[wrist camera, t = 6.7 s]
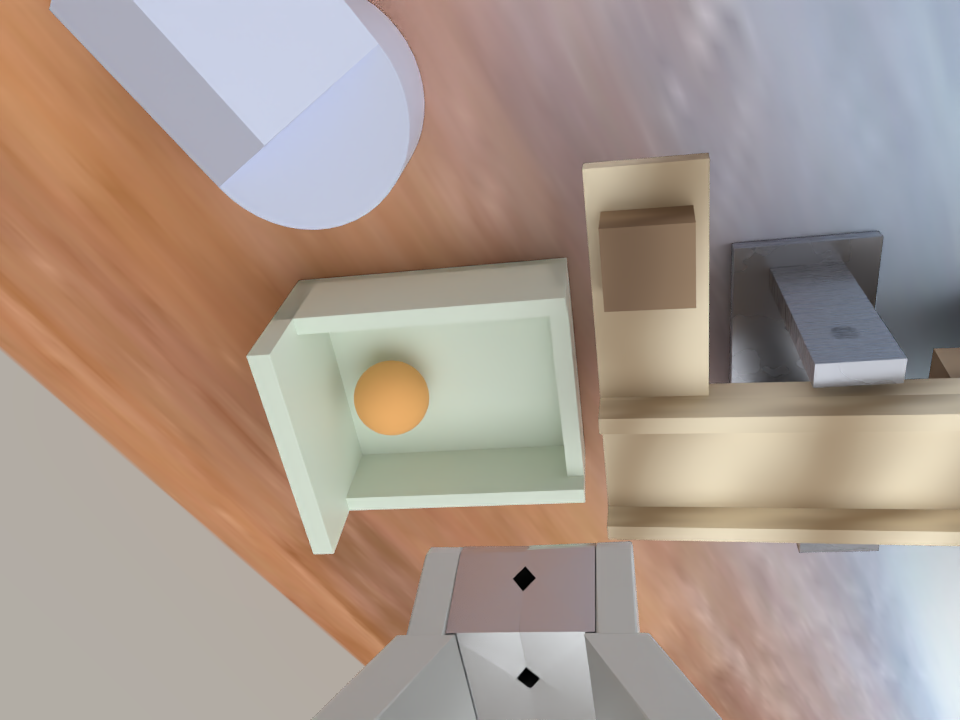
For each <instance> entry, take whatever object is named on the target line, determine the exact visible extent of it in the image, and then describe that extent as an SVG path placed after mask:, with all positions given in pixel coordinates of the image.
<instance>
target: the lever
mask: <svg viewBox="0 0 960 720" xmlns="http://www.w3.org/2000/svg"><path fill="white" fill-rule="evenodd" d="M709 169H710V158H709V154H708V153H700V154H688V155H676V156H665V157H653V158H641V159H629V160H617V161H606V162H594V163H583V167H582V174H583V187H584V200H585V212H586V225H587V237H588V250H589V263H590V275H591V288H592V301H593V313H594V326H595V339H596V351H597V364H598V376H599V389H600V406H599V417H598V421H599V433H600V434H603V446H604V458H605V471H606V483H607V496H608V520H607V531H608V539H620V540H671V541H722V542H773V543H825V544H876V545H927V546H960V348H934V349H933V355H932V361H931V367H930V373H929V379H904V383H897V384H879V385H861V386H842V387H824V388H813V387H812V385H811V382H810V381H807V382H763V383H719V384H709Z"/></svg>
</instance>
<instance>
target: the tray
mask: <svg viewBox="0 0 960 720" xmlns="http://www.w3.org/2000/svg"><path fill="white" fill-rule="evenodd" d="M247 359H248V362H249V365H250V368H251V371H252V374H253V377H254V380H255V383H256V386H257V389H258V392H259V395H260V398H261V401H262V404H263V407H264V410H265V412H266V415H267V418H268V421H269V424H270V427H271V430H272V433H273V436H274V439H275V442H276V445H277V448H278V451H279V454H280V457H281V460H282V463H283V466H284V468H285V471H286V474H287V477H288V480H289V483H290V486H291V489H292V492H293V495H294V498H295V501H296V504H297V507H298V510H299V513H300V516H301V519H302V522H303V525H304V527H305V530H306V533H307V536H308V539H309V542H310V545H311V548H312V551H313V554H334V552H335V549H336V546H337V543H338V541H339V538H340V535H341V532H342V530H343V527H344V524H345V521H346V519H347V516H348V513H349V511H350V510H378V509H407V508H437V507H466V506H496V505H525V504H554V503H584V502H585V444H584V434H583V423H582V413H581V402H580V392H579V381H578V370H577V360H576V349H575V339H574V328H573V317H572V307H571V296H570V286H569V275H568V265H567V258H556V259H544V260H532V261H521V262H509V263H497V264H485V265H474V266H462V267H450V268H439V269H427V270H415V271H404V272H392V273H380V274H368V275H357V276H345V277H333V278H322V279H310V280H299V281H298V282H297V284H296V285H295V287H294V288H293V290H292V291H291V292H290V294H289V295H288V297H287V298H286V300H285V301H284V302H283V304H282V305H281V307H280V308H279V310H278V311H277V313H276V314H275V315H274V317H273V318H272V320H271V321H270V323H269V324H268V326H267V327H266V328H265V330H264V331H263V333H262V334H261V336H260V337H259V339H258V340H257V341H256V343H255V344H254V346H253V347H252V349H251V350H250V351H249V353H248V354H247ZM390 360H393V361H400V362H404V363H406V364H409V365H411V366H412V367H414V368H415V369H416V370H417V371H418V372H419V373H420V374H421V375H422V376H423V378H424V380H425V382H426V384H427V387H428V390H429V405H428V409H427V412H426V414H425V416H424V418H423V419H422V420H421V422H420V423H419V424H418V425H417V426H416V427H415V428H413V429H412V430H410V431H408V432H406V433H403V434H400V435H383V434H379V433H377V432H375V431H373V430H371V429H370V428H368V427H367V426H366V425H365V424H364V423H363V422H362V421H361V419H360V418H359V416H358V414H357V412H356V409H355V405H354V391H355V387H356V384H357V382H358V380H359V378H360V377H361V375H362V374H363V373H364V372H365V371H366V370H367V369H368V368H370V367H371V366H373V365H375V364H377V363H380V362H383V361H390Z"/></svg>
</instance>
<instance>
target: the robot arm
mask: <svg viewBox="0 0 960 720" xmlns="http://www.w3.org/2000/svg"><path fill="white" fill-rule="evenodd" d="M536 719H537V720H722V719H721V717H720V716H719V715H718V714H717V713H716V711H715V710H714V709H713V708H712V707H711V706H710V704H709V703H708V702H707V701H706V700H705V699H704V697H703V696H702V695H701V694H700V693H699V692H698V690H697V689H696V688H695V687H694V686H693V684H692V683H691V682H690V681H689V680H688V679H687V677H686V676H685V675H684V674H683V673H682V672H681V670H680V669H679V668H678V667H677V666H676V665H675V663H674V662H673V661H672V660H671V659H670V657H669V656H668V655H667V654H666V653H665V652H664V650H663V649H662V648H661V647H660V646H659V645H658V643H657V642H656V641H655V640H654V639H653V638H652V636H651V635H650V634H649V633H640V628H639V616H638V604H637V591H636V579H635V567H634V555H633V545H632V542H630V541H628V542H605V543H597V545H596V543H584V544H559V545H534V546H473V547H431V548H430V550H429V551H428V553H427V554H426V557H425V561H424V565H423V569H422V573H421V577H420V581H419V585H418V590H417V594H416V598H415V602H414V606H413V610H412V614H411V618H410V623H409V627H408V631H407V635H397V636H396V637H395V638H394V639H393V640H392V641H391V642H390V643H389V644H388V645H387V646H386V647H384V648H383V649H382V650H381V651H380V652H379V653H378V654H377V655H376V656H375V657H374V658H373V659H372V660H371V661H370V662H369V663H368V664H367V665H366V666H365V667H364V668H363V669H362V670H361V671H360V672H359V673H358V674H357V675H356V676H355V677H354V678H353V679H352V680H351V681H350V682H349V683H348V684H347V685H346V686H345V687H344V688H343V689H342V690H341V691H340V692H339V693H338V694H336V695H335V697H333V698H332V699H331V700H330V701H329V702H328V703H327V704H326V705H325V706H324V707H323V708H322V709H321V710H320V711H319V712H318V713H317V714H316V715H315V716H314V717H313V718H312V719H311V720H536Z"/></svg>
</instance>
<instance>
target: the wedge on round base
mask: <svg viewBox="0 0 960 720" xmlns="http://www.w3.org/2000/svg"><path fill="white" fill-rule="evenodd" d="M49 10H50V11H51V12H52V13H53V14H54V15H55V16H56V17H57V18H58V19H59V20H60V21H61V22H62V24H63V25H64V26H65V27H66V28H67V29H68V30H69V31H70V32H71V33H72V34H73V35H74V36H75V37H76V38H77V39H78V40H79V41H80V42H81V43H82V45H83V46H84V47H85V48H86V49H87V50H88V51H89V52H90V53H91V54H92V55H93V56H94V57H95V58H96V59H97V60H98V61H99V62H100V63H101V64H102V65H103V67H104V68H105V69H106V70H107V71H108V72H109V73H110V74H111V75H112V76H113V77H114V78H115V79H116V80H117V81H118V82H119V83H120V84H121V85H122V86H123V87H124V89H125V90H126V91H127V92H128V93H129V94H130V95H131V96H132V97H133V98H134V99H135V100H136V101H137V102H138V103H139V104H140V105H141V106H142V107H143V108H144V109H145V111H146V112H147V113H148V114H149V115H150V116H151V117H152V118H153V119H154V120H155V121H156V122H157V123H158V124H159V125H160V126H161V127H162V128H163V129H164V130H165V131H166V133H167V134H168V135H169V136H170V137H171V138H172V139H173V140H174V141H175V142H176V143H177V144H178V145H179V146H180V147H181V148H182V149H183V150H184V151H185V152H186V154H187V155H188V156H189V157H190V158H191V159H192V160H193V161H194V162H195V163H196V164H197V165H198V166H199V167H200V168H201V169H202V170H203V171H204V172H205V173H206V174H207V176H208V177H209V178H210V179H211V180H212V181H213V182H214V183H215V184H216V185H217V186H218V187H219V188H220V189H221V190H222V191H223V192H224V193H225V194H226V195H227V196H229V197H230V198H231V199H232V200H233V201H235V202H236V203H237V204H239V205H240V206H241V207H243V208H244V209H246V210H248V211H249V212H251V213H253V214H254V215H256V216H258V217H260V218H263V219H265V220H267V221H269V222H272V223H275V224H279V225H282V226H285V227H291V228H296V229H308V230H318V229H329V228H333V227H337V226H342V225H345V224H347V223H350V222H352V221H355V220H357V219H358V218H360V217H362V216H364V215H366V214H367V213H369V212H370V211H371V210H372V209H374V208H375V207H376V206H377V205H379V203H380V202H381V201H382V200H383V199H384V198H385V197H386V196H387V195H388V194H389V192H390V191H391V189H392V188H393V186H394V185H395V183H396V182H397V180H398V178H399V177H400V175H401V173H402V172H403V170H404V168H405V167H406V165H407V163H408V162H409V160H410V158H411V157H412V155H413V153H414V151H415V148H416V146H417V144H418V141H419V138H420V135H421V132H422V126H423V120H424V106H425V101H424V90H423V84H422V80H421V75H420V71H419V68H418V66H417V63H416V60H415V57H414V55H413V53H412V51H411V49H410V47H409V46H408V44H407V42H406V40H405V39H404V37H403V36H402V34H401V33H400V31H399V30H398V29H397V27H396V26H395V25H394V24H393V23H392V22H391V21H390V19H389V18H388V17H387V16H386V15H385V14H384V13H382V12H381V11H380V10H379V9H378V8H377V7H376V6H374V5H373V4H372V3H370V2H369V1H367V0H51V4H50V8H49Z"/></svg>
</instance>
